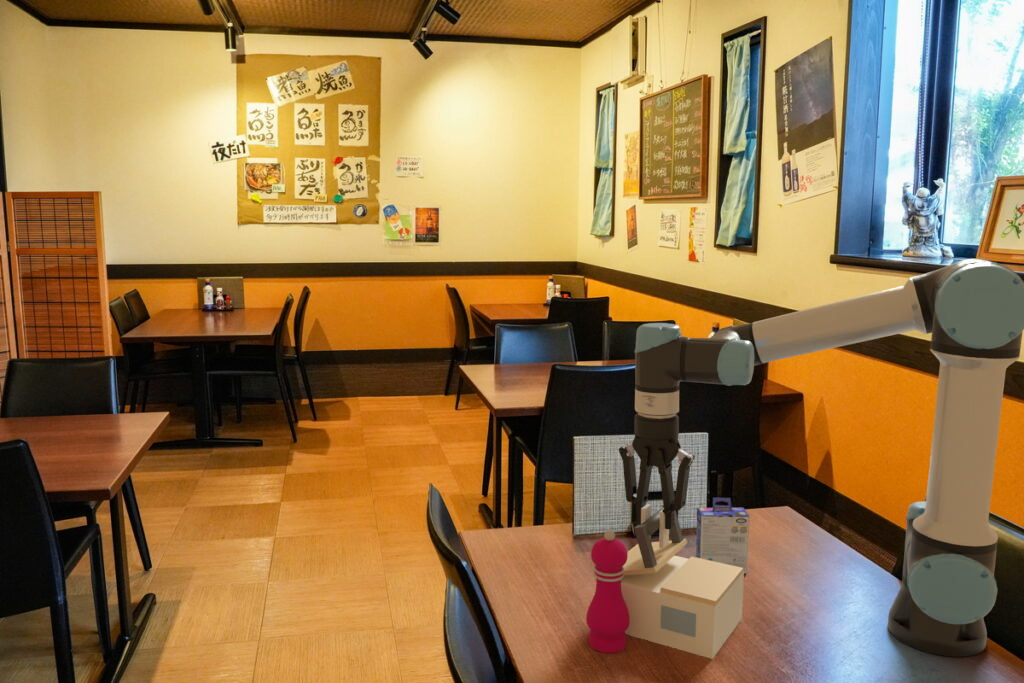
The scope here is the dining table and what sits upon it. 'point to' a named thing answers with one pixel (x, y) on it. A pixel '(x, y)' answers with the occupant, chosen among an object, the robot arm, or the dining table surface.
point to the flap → (652, 547)
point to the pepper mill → (608, 596)
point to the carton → (685, 604)
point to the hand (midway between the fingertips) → (654, 543)
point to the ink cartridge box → (723, 534)
